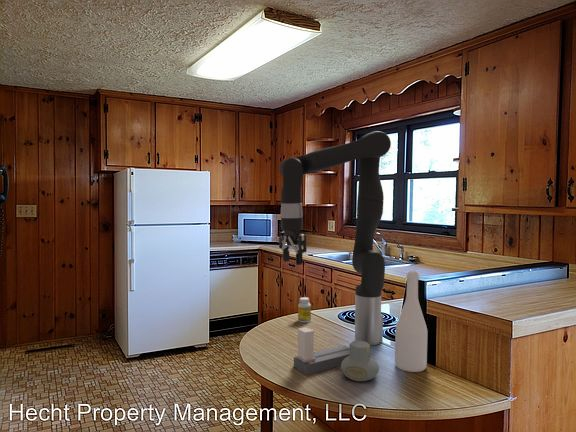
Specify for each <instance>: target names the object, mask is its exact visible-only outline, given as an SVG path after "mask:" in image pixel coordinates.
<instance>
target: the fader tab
mask: <svg viewBox="0 0 576 432" xmlns="http://www.w3.org/2000/svg"><path fill="white" fill-rule="evenodd" d="M314 333H315V331H314V330H313V329H311V328H309V327H301V328H298V329H297V354H296V355H295V357H296V358H298V359H299V360H301V361H303V362H304V363H306V362H310V361H314V360H316V358H314V357H313V352H314V335H315V334H314Z"/></svg>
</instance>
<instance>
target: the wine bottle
mask: <svg viewBox="0 0 576 432" xmlns="http://www.w3.org/2000/svg"><path fill="white" fill-rule="evenodd" d="M419 278H420V273H419V271H417V270H408V271H407V272H406V279H407V280H406V296H405V301H404V304H403V307H402V309H401V312H400V314H399V316H398V320H397V323H396V326H395V331H394V333H395V337H394V339H395V341H394V342H395V343H394V364H395V367H397V368H398V369H400V370H401V371H405V372H408V373H421V372H423V371H425V370H426V369H427V365H428V328H427V324H426V321H425V318H424V314H423V311H422V308H421V305H420V304H421V303H420V301H419Z"/></svg>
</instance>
